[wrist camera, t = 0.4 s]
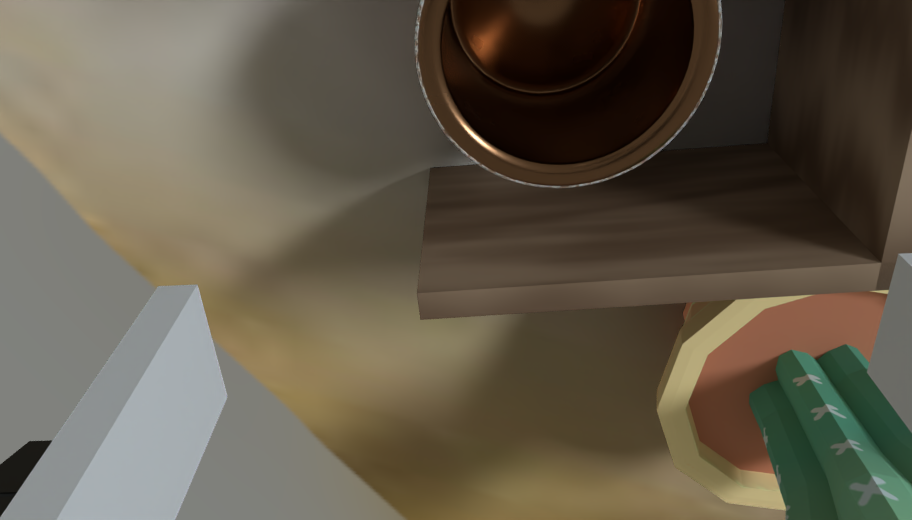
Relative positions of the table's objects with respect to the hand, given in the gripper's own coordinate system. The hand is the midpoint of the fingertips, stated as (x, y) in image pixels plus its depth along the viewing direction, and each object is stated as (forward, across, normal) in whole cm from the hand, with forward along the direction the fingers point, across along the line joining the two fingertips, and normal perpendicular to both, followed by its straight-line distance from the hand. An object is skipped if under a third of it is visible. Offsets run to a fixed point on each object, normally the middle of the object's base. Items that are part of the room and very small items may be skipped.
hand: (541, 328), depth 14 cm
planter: (+24, +2, +2) cm, 24 cm away
